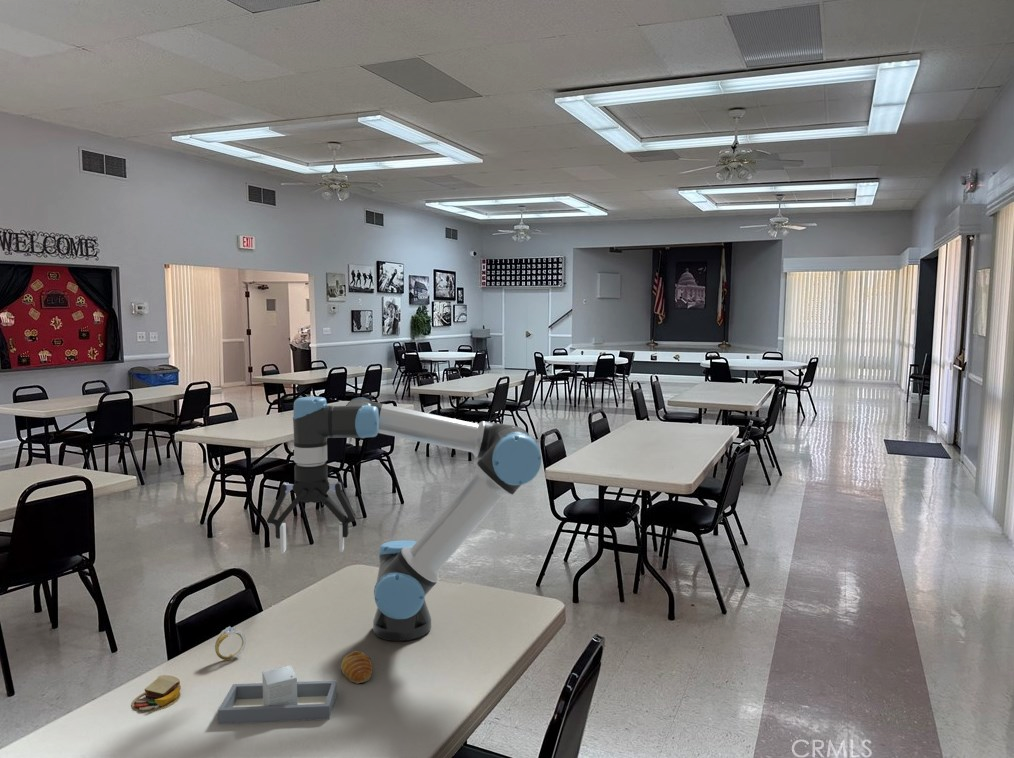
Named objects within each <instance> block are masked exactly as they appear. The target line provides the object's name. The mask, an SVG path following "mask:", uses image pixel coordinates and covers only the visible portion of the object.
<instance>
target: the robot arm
mask: <svg viewBox="0 0 1014 758" xmlns="http://www.w3.org/2000/svg"><path fill="white" fill-rule="evenodd" d="M292 415H293V416H292V421H293V422H292V424H293V425H292V427H293V462H294V463H295V465H294V484H293V483H288V482H286V481H285V482H283V483H282V484H281V485H280V490H279V496H278V497H277V499H276V501H275V503H274V505H273V508H272V510H271V511H270V514H269V516H268V517H267V520H266V522H267V524H272V525H274V526H275V528H274V529H275V538H276V539H279V544H280V545H279V546H280V547H279V549H280V554H285V552H286V550H287V523H286V522H283V521H284V520H285V519H286V518H287V517H288V516H289V514H290V513H291V512H293V510H294V509H295V507H296V506H297V505H298V504H299V503H300V502H301V501H302V502H303V503H304V504H309V503H314V504H318V503H320V502H321V503H322V504H323V505H324V506H325V507H326V508H327V509H329V511H331V513H332V514H333V515H334V517H336V518H337V520H339V525H338V543H339V544H338V546H339V547H338V549H339V551H338V553H343V552H344V549H345V538H347V537H348V536H349V524H350V523H353V522H355V520H356V518H357V515H356V513H355V511H354V510H353V508H352V506H351V503H350V502H349V500H348V498H347V496H346V495H345V492H344V489H343V484H342V481H337V482H335V483H334V482H333V483H330V482H329V477H328V476H329V475H328V473H329V472H328V468H329V467H328V464H327V461H328V439H329V438H330V439H336V438H339V439H340V438H343V439H344V438H346V439H347V438H348V439H349V438H351V439H352V438H355V439H356V438H359V439H366V438H376V437H377V436H378V434H381V435H386V436H392V437H397V438H401V439H406V440H411V441H415V442H420V443H425V444H430V445H434V446H439V447H445V448H450V449H454V450H459V451H464V452H468V453H471V454H473V456H474V457H475V458H479V460H478V461H477V462H476V463H475V466H476V472H475V474H474V475H473V476H472V478H471V479H470V480H469V481H468V482H467V483H466V484H465V486H464V487H463V488H462V489H461V490H460V491H459V493H457V494H456V496H455V497H454V498H452V499H453V500H452V501H450V503H449V504H448V505H447V506H446V507H445V508H444V510H443V511H442V512H441V513H440V514H439V515H438V517H436V519H435V520H434V522H433V523H432V524H431V525H430V526H429V527H428V528H427V530H426V531H425V532H424V533H423V534H422V535H421V536H420V537H419V539H418V540H417V541H416V540H407V539H406V540H405V539H401V540H391V541H387V542H384V543H382V544H380V546H379V550H378V558H379V559H378V563H379V564H378V565H379V566H378V571H377V577H376V581H375V585H374V588H373V595H374V602H375V604H376V607H377V609H376V612H375V615H374V618H373V621H372V622H373V623H372V628H373V629H372V631H373V634H374V635H376V636H377V637H378V638H381V639H383V640H387V641H394V642H395V641H396V642H399V641H400V642H402V641H403V642H404V641H409V640H414V639H418V638H421V637H423V636H425V635H426V634H428V633H429V632H430V630H432V629H431V628H432V617H431V613H430V611H429V607H428V604H427V602H426V599H425V597H426V595H428V593H429V592H430V591H431V590H432V589H433V588H434V587H435V586H436V584H437V583H438V581H440V579H439V578H440V576H439V572H440V570H441V568H442V567H444V565H445V564H447V562H448V561H449V559H450V558H451V557H452V555H454V553H456V551H457V550H458V549H459V548H460V546H462V545H463V543H464V542H466V540H467V539H468V538H469V536H470V535H471V534H472V533H473V532H474V531H475V530H476V528H477V527H478V526H479V525H480V523H482V521H483V520H484V519H485V518H486V516H487V515H489V514H490V512H491V511H492V510H493V509H494V507H495V506H496V505H497V504H498V502H500V500H501V499H502V498H503V497H508V496H509V497H510V496H513V495H514V494H515V493H516V492H517V490H518V489H519V488H520V487H521V486H522V485H526V484H528V483H529V482H531V481H532V480H533V479H534V478H535V477H536V476H537V475H538V474H539V471H540V469H541V465H542V455H541V454H542V453H541V449H540V447H539V445H538V443H537V441H536V440H535V439H534V438H533V437H532V436H531V435H530V433H528V432H527V430H526V429H524V428H522V427H520V426H517V425H514V424H513V425H512V424H503V423H498V422H497V423H496V422H490V421H486V420H482V421H480V422H479V423H475V422H473V421H467V420H466V421H465V420H461V419H457V418H451V417H448V416H442V415H438V414H433V413H427V412H423V411H419V410H416V409H415V410H414V409H409V408H405V407H400V406H396V405H395V406H394V405H390V404H386V403H380V402H377V401H376V402H375V401H371V399H369V398H366V397H356V398H352V399H351V400H349V402H347V404H346V405H335V406H334V405H328V402H327V399H326V398H325V397H322V396H305V397H304V396H303V397H299V398H296V399H295V400H294V402H293V413H292ZM292 490H293V492H294V493H295V495H296V497H295V498H294V499H293V501H292V502H291V503H289V504H288V506H287V507H286V509H285V510H284V511H283V512H282V514H281V515H280V516H279V517H276V516H277V515H278V513H279V511H280V509H281V506H282V505H283V502H284V501H285V499H286V497H287V494H289V493H290V492H291V491H292ZM329 490H331V491H332V492H333V493H335V495H336V497H337V500H338V501H339V503H340V505H341V507H342V509H343V510H342V509H341V508H340V507H339V506H338V505H337V504H336V502H334V500H333V499H332V498H331V497H330V495H329V494H328V493H329Z"/></svg>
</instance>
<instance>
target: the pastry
mask: <svg viewBox="0 0 1014 758" xmlns="http://www.w3.org/2000/svg"><path fill="white" fill-rule="evenodd" d="M340 669H341V672H342V674H343V676H345V677H346V679H347V680H348V681H350V683H354V684H360V683H361V684H362V683H365V682H369V681H370V679H371V677H372V673H373V664H372V661H371V658H370V657H369V656H368V655H367V654H364V652H362V651H360V650H356V651H354V650H353V651H352V652H350V653H347V654H346V655H345V656H344V657H343V659H342V660H341V666H340Z"/></svg>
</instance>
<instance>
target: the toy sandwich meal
mask: <svg viewBox="0 0 1014 758" xmlns="http://www.w3.org/2000/svg"><path fill="white" fill-rule="evenodd" d="M181 688H182V686H181V681H180V679H179V678H178V677H176V676H173V675H170V674H169V675H167V674H165V675H164V674H163V675H159V676H157V678H156V679H155V680H153V681H152V682H151V683H150V684H149V685H148V686H146V687H145V688H144V692H143V693H141V694H138V695H137V696H136V697H135V698H134V699H133V700H132V702H131V708H132V710H134V711H136V712H139V711H140V713H151V711H153V712H158V711H162V710H164V709H167V708H169V707H171V706H173V705H174V704H176V703H177V702H178V701H179V700H180V698H181V695H182V694H181V690H182V689H181ZM144 696H145V697H144ZM155 706H159V707H160V708H156V707H155ZM161 709H162V710H161Z"/></svg>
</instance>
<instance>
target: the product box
mask: <svg viewBox="0 0 1014 758" xmlns="http://www.w3.org/2000/svg"><path fill="white" fill-rule="evenodd" d="M261 673H262V677H261V678H262V683H263V704H264V706H276V705H298V701H297V682H298V681H297V679H298V678H297V675H296V673H295V671H294V669H293V667H292V665H286V666H283V667H278V668H273V669H269V670H264V671H262V672H261Z"/></svg>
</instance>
